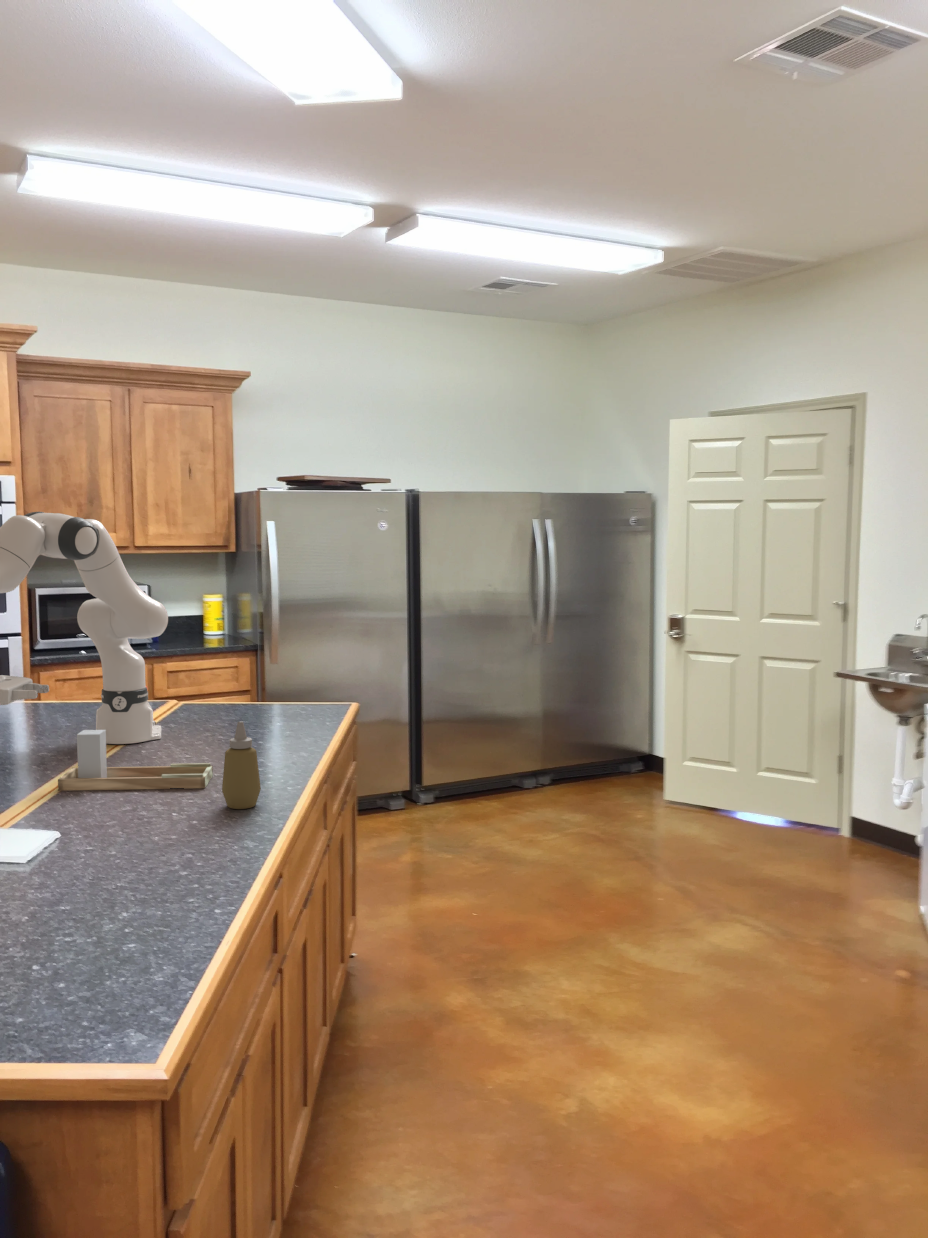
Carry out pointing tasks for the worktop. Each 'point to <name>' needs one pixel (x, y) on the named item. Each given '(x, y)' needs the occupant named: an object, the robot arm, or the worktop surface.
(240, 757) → the squeeze bottle
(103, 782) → the channel
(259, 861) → the worktop surface
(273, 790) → the worktop surface
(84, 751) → the blue-grey block
